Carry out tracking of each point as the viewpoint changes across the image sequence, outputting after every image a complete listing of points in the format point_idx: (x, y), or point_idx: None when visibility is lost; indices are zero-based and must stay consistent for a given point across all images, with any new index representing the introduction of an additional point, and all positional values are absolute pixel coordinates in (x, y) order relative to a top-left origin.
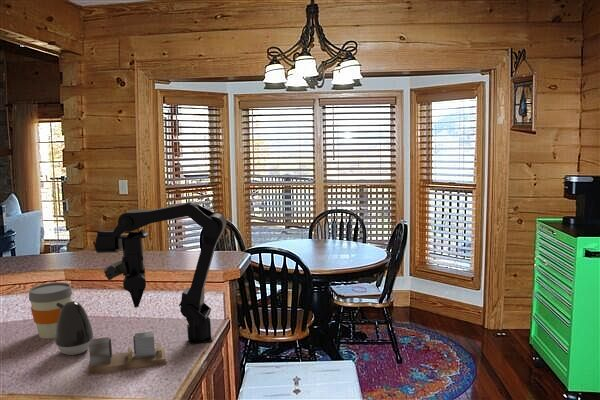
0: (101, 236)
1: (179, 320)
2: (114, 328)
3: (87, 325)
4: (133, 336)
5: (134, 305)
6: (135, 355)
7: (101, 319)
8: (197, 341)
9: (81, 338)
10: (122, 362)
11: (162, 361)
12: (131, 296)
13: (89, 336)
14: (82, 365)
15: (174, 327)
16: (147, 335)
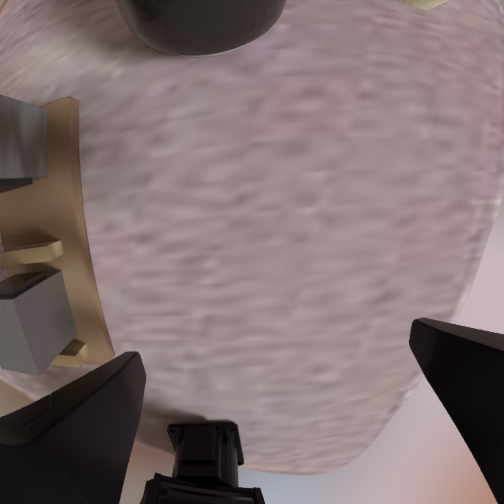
0: None
1: (402, 379)
2: (419, 146)
3: (149, 7)
4: (8, 290)
5: (113, 362)
6: (51, 268)
7: (492, 110)
8: (176, 441)
9: (124, 20)
10: (12, 228)
11: None
12: (29, 406)
13: (156, 42)
14: (70, 80)
15: (347, 375)
16: (3, 349)
